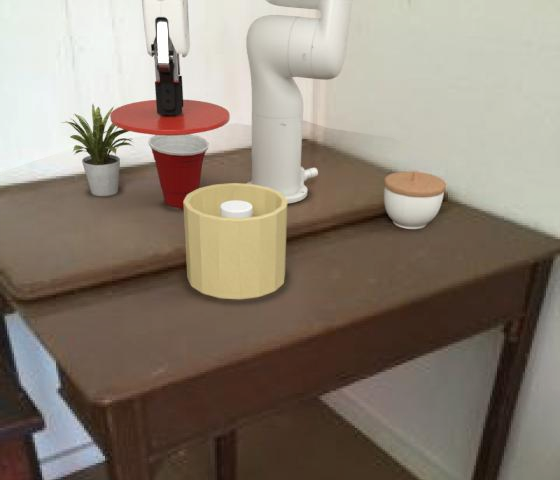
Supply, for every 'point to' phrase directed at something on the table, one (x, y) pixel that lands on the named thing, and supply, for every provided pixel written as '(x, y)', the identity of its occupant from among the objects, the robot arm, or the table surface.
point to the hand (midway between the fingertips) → (170, 109)
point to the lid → (170, 118)
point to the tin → (235, 241)
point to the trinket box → (413, 198)
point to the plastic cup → (178, 165)
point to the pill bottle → (236, 209)
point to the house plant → (99, 153)
